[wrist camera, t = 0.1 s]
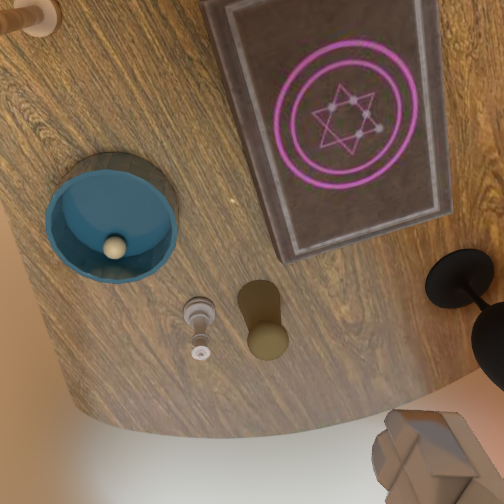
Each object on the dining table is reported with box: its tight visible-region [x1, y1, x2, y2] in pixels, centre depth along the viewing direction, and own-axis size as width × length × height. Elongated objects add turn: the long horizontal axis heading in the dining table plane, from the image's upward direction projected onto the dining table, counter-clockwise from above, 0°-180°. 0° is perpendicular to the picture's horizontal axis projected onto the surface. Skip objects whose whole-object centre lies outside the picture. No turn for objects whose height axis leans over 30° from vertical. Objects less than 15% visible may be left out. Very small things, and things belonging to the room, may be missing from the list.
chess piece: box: [184, 297, 215, 360], centre depth 63 cm, size 4×4×10 cm
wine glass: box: [425, 249, 504, 391], centre depth 61 cm, size 10×10×20 cm
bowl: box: [46, 152, 178, 284], centre depth 56 cm, size 14×14×6 cm
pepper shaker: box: [238, 280, 289, 361], centre depth 63 cm, size 6×6×11 cm
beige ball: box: [103, 237, 126, 259], centre depth 59 cm, size 3×3×3 cm
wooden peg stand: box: [0, 0, 62, 37], centre depth 40 cm, size 4×4×17 cm
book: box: [198, 0, 453, 265], centre depth 53 cm, size 30×22×5 cm
